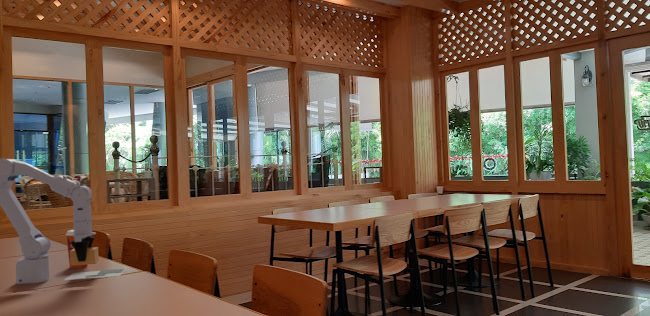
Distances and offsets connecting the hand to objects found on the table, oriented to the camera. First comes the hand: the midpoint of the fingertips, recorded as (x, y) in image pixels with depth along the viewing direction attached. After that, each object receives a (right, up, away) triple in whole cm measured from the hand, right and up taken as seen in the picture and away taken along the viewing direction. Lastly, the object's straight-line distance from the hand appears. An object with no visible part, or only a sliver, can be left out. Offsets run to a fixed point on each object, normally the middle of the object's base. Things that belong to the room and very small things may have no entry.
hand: (84, 259), depth 177 cm
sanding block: (0, -1, 0) cm, 1 cm away
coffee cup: (-11, -8, +19) cm, 23 cm away
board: (+3, -7, +4) cm, 8 cm away
